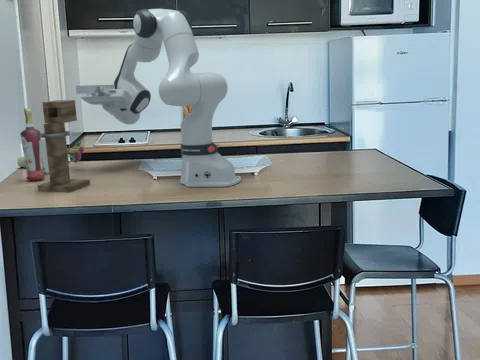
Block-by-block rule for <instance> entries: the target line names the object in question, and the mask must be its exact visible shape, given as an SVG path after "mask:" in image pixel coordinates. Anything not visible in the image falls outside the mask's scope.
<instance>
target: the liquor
mask: <svg viewBox="0 0 480 360" xmlns="http://www.w3.org/2000/svg"><path fill="white" fill-rule="evenodd" d="M32 111H33V110H32V108H23V112H24V113H23V114H24V117H25V129H24V130H22V131H21V132H20V138H21V146H22V150H23V157H25V163H26V167H25V169H26V179H27V180H28V181H29V182H39V181H42V180H43V179H44V178H45V174H44V168H43V167H44V165H43V161H42V152H41V136H40V134H41V131H40V130H38V129H37V128H35V127H34V122H33V118H32V114H33V113H32Z"/></svg>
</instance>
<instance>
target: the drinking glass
mask: <svg viewBox="0 0 480 360" xmlns="http://www.w3.org/2000/svg"><path fill="white" fill-rule="evenodd" d="M41 152H42V160H43V161H42V165H43V167H44V168H43V169H44V173H45V174H48V175H49V167H48V159H47V150H46V141H45V138H42V137H41Z"/></svg>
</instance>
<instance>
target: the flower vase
mask: <svg viewBox="0 0 480 360" xmlns="http://www.w3.org/2000/svg"><path fill="white" fill-rule="evenodd" d="M81 144H82V141H77V143H75V148H74V149H73V150H72V151H70V150H71V146H70V145H71V144H68V148H67V154H68V158H71V160H70V161H69V160H68V163H69V164H70V165H71V163H72V162H73V164H77V163H79V162H80V161H81V159H82V155H83V153H84V151H85V148H84V147H83V145H81ZM77 148H78V149H77ZM76 149H77V150H76ZM42 162H43V160H42ZM70 162H71V163H70ZM16 163H17V165H18V167H19V168H21V167H25V168H26V163H25V157H24V156H20V157H18V158H17V162H16Z"/></svg>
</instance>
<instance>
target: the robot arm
mask: <svg viewBox="0 0 480 360" xmlns="http://www.w3.org/2000/svg"><path fill="white" fill-rule="evenodd" d="M132 20H133V21H132V26H133V27H132V28H133V30H134V33H135V34H134V39H133V42H132V43H130V44H129V46H128V47H127V49H126V50H125V54H124V57H123V59H122V63H121V65H120V68H119V72H118V73H117V76H116V77H115V79H114V81H113V85H115V89H106V88H104V87H103V86H99V87H98V91H100V92H103V93H86V94H81V95H80V98H81V100H82V101H84V102H85V103H88V104H89V105H92V106H93V105H94V106H98V105H100V106H101V105H102V108H103V110H105V111H106V112H107V113H109V114H110V115H111V116H113V117H114V118H115V119H116V120H117V121H119V122H121V123H123V124H124V125H129V126H130V125H134V124H136V123H137V122H138V121H139V120H140V117H141V113H142V112H143V111H144V110H145V109H146V108H148V106H149V105H150V103H151V99H152V95H151V92H150V91H149V89H147V88H146V87H145V86H144V85H143V84H142V83H140V82H139V80H138V79H137V78H136V76H135V70H136V68H137V64H138V62H139V63H151V62H153V61H155V60H157V58H158V57H159V56H160V53H161V50H162V45H163V46H164V48H165V52H166V56H167V59H168V61H167V62H168V70H167V73H166V74H165V76H164V77H163V78H162V79H161V81H160V83H159V85H158V95H159V98H160V100H161V101H162V102H163V103H164V105H167V106H176V107H183V106H185V107H186V106H192V109H191V112H190V114H188V115H187V116H185V117H184V118H183V119H182V121H181V122H180V136H181V144H180V154H181V159H182V160H181V163H182V164H181V172H180V173H181V174H180V180H179V183H180V184H181V185H185V187H188V188H190V187H193V188H194V187H195V188H199V187H200V188H202V187H203V188H206V187H209V188H210V187H211V188H212V187H214V188H215V187H216V188H217V187H222V188H225V187H231V186H234V185H237V184H238V183H240V182H241V181H242V176H240V175H236V172H235V168H234V165H233V163H232V162H231V161H230V160H228V159H227V158H225V157H224V156H222V155H221V154H220V153H219V152H218V148H219V147H220V146H219V145H220V144H219V143H218V144H215V142H213V119H214V115H215V112H216V110H217V108H218V106H219V104H220V103H221V102H222V101H223V100H224V99H225V98H226V96H227V94H228V89H229V88H228V87H229V86H228V82H227V80H226V78H225V77H224V76H223V75H222V74H220V73H215V72H198V73H197V72H196V73H192V72H191V68H192V67H193V66H194V65H196V64H197V62H198V60H199V59H200V58H199V57H200V53H199V49H198V46H197V43H196V40H195V37H194V34H193V30H192V28H191V18H190V16H189V15H188V13H187V12H186V11H184V10H180V9H175V10H174V9H166V8H150V9H148V8H142V9H139V10H137V11H136V12H135V13H134V15H133V19H132Z"/></svg>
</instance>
